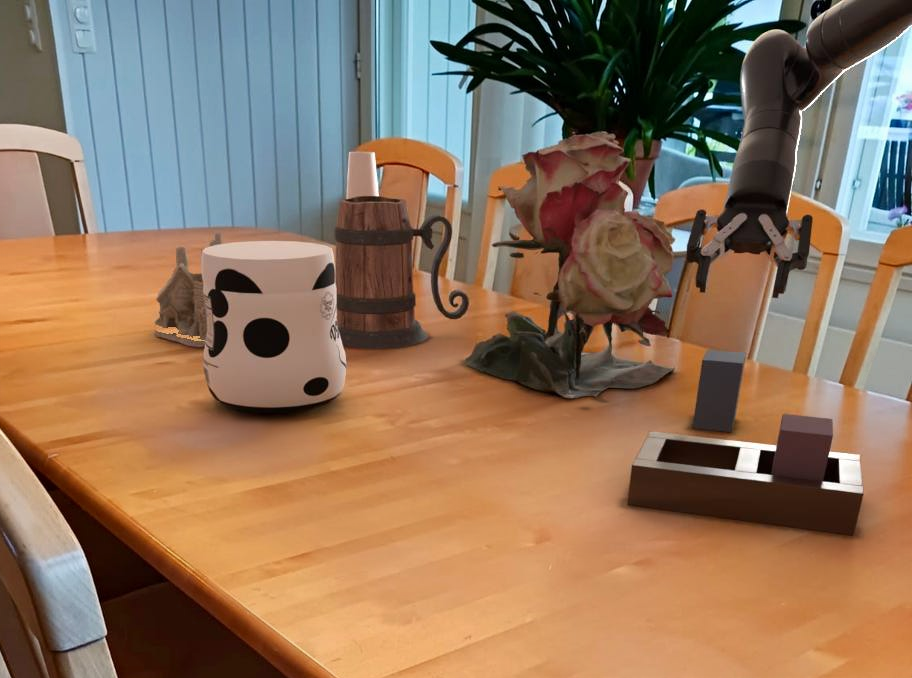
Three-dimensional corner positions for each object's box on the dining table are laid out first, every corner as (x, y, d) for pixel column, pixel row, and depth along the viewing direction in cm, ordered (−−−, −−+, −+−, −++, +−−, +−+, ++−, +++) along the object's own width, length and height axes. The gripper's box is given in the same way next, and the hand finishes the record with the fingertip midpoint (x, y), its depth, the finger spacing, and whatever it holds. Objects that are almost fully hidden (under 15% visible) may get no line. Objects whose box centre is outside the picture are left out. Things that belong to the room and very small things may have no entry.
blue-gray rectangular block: (697, 415, 119) (707, 349, 115) (735, 419, 118) (746, 352, 114) (692, 428, 115) (702, 359, 111) (731, 432, 113) (743, 363, 109)
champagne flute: (342, 290, 189) (337, 152, 177) (355, 284, 194) (351, 150, 182) (374, 293, 187) (372, 153, 175) (386, 287, 192) (385, 152, 181)
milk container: (374, 398, 124) (372, 247, 115) (285, 432, 111) (274, 266, 102) (272, 377, 132) (262, 235, 123) (177, 407, 119) (159, 251, 110)
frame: (853, 535, 87) (863, 493, 85) (627, 504, 93) (631, 465, 91) (850, 493, 97) (860, 454, 95) (644, 467, 102) (649, 430, 100)
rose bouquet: (587, 410, 120) (612, 138, 105) (446, 361, 141) (450, 128, 126) (722, 380, 134) (761, 135, 119) (575, 340, 154) (593, 126, 139)
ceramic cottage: (164, 322, 160) (155, 225, 152) (263, 328, 160) (259, 232, 152) (136, 351, 147) (124, 246, 139) (244, 357, 147) (238, 253, 139)
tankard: (327, 349, 146) (321, 205, 136) (317, 326, 161) (311, 193, 151) (478, 345, 150) (484, 204, 140) (455, 322, 165) (459, 193, 155)
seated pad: (767, 492, 96) (782, 413, 92) (815, 498, 95) (832, 418, 91) (764, 512, 92) (780, 429, 88) (814, 518, 91) (833, 435, 87)
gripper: (703, 155, 119) (679, 267, 115) (826, 158, 115) (805, 275, 111) (702, 198, 126) (678, 305, 122) (817, 203, 122) (797, 314, 118)
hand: (739, 291), depth 117 cm, fingers open, 8 cm apart
